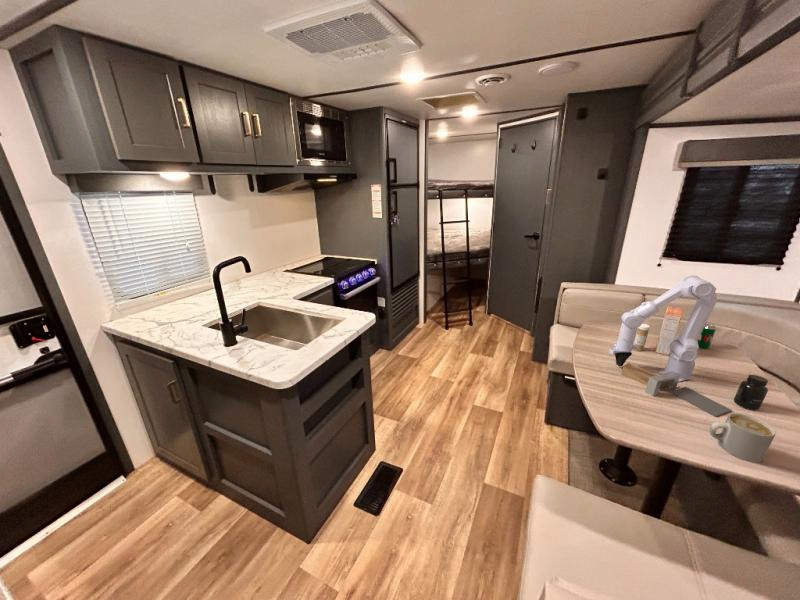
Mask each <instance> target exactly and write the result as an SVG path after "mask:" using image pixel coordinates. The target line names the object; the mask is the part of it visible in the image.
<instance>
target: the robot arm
mask: <svg viewBox="0 0 800 600" xmlns="http://www.w3.org/2000/svg"><path fill="white" fill-rule="evenodd" d="M716 291H717V287H716V286H715V285H714V284H713V283H711V281H707V280H704V279H703V278H700V277H699V276H697V275H689V276H686V277H685V278H684V279H681V280H679V281H678V282H677V283H676V284H675V285H674V286H673V287H671V288H670V289H669V290H667V291H665V292H664V293H663V294H661V295H660V296H659V297H656V298H655V299H654V300H652V301H651V300H649V301H644V302H642V303H640V304H641V305H638V306H637V307H635V308H634V309H631V310H630V311H626V312H624V313H623V314H622V315H621V316H620V320H621V326H620V329H619V333H618V337H617V342H616V343H614V344H613V345H614V346H612V347H611V348H609V351H608V353H609V354H610V355H614V356H615V365H616V366H618V367H623V366H624V365H625V364H626V363H625V362H626V361H627V360H628V359H629V358H630V357H631V356H632V355H633V353H632V352H633V351H634V349H635V351H637V350H636V349H637V347H638V346H637V345H635V344H634V341H635V338H636V334H637V331H638V327H640V326H641V324H643V322H644V321H645V320H648V319H649V318H650V317H652V316H655V314H657V313H658V312H659V311H660V308H662V307H664V306H665V305H667V304H669V303H672V302H673V301H675V300H676V299H679V298H683V297H685V298H694V299H695V300H696V301H695V304H694V306H693V308H692V309H691V310H692V311H691V312H690V314H689V316H688V318H687V321H686V323H685V325H684V327H683V329H682V331H681V332H680V333H681V334H679V335H676V336H675V339H674V340H673V341H672V342H671V343H670V344H669V348H670V349H671V352H670V356H668V359H667V362H666V365H665V369H662V370H660V371H659V370H658V373H660V374H663V373H667V372H671V371H673V372H675V373H677V374H679V375H680V378H679V381H678V383H680V382H683V381H686V380H691V379H693V378H694V376H693V375H692V374H693V371H694V368H695V365H696V362H695V361H696V360H697V358H698V356H699V353H698V351H699V349H700V347H699V346H698V342H697V340H698V338H699V336H700V334H701V332H702V330H703V328H704V326H705V324H707V321H708V320H709V319H710V316H711V314H712V313H713V310H714V308H715V307H716V304H717V302H718V299H717V292H716Z"/></svg>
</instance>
